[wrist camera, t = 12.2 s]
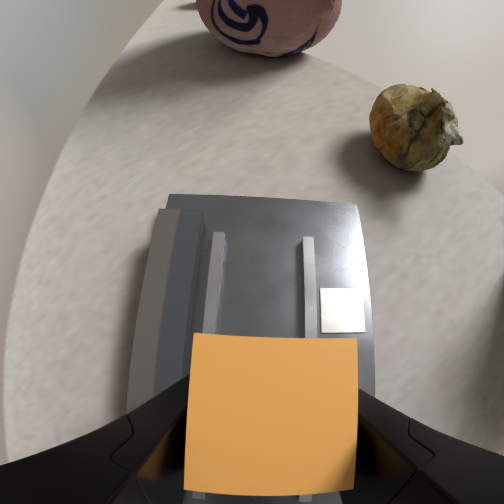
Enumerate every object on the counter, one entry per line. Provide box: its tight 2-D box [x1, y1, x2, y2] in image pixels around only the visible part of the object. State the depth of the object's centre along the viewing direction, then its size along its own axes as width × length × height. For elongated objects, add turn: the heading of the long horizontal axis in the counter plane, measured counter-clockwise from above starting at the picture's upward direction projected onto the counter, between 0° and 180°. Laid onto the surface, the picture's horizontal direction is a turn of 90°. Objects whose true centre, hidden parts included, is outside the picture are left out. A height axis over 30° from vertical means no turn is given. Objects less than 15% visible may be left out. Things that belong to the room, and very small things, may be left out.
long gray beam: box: [126, 209, 204, 415], centre depth 13 cm, size 16×2×1 cm, turn 177°
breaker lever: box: [184, 333, 358, 496], centre depth 9 cm, size 4×4×8 cm
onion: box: [369, 84, 463, 171], centre depth 20 cm, size 8×8×8 cm
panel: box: [166, 194, 375, 504], centre depth 14 cm, size 20×12×2 cm, turn 177°
